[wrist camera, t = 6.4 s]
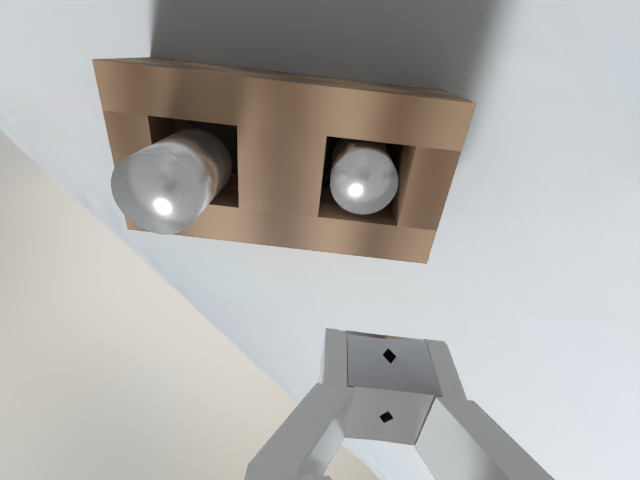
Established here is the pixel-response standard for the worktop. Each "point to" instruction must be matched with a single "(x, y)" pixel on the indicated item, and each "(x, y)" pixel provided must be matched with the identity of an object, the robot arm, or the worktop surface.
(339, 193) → the steel peg
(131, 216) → the steel peg
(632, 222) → the worktop surface
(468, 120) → the walnut block
